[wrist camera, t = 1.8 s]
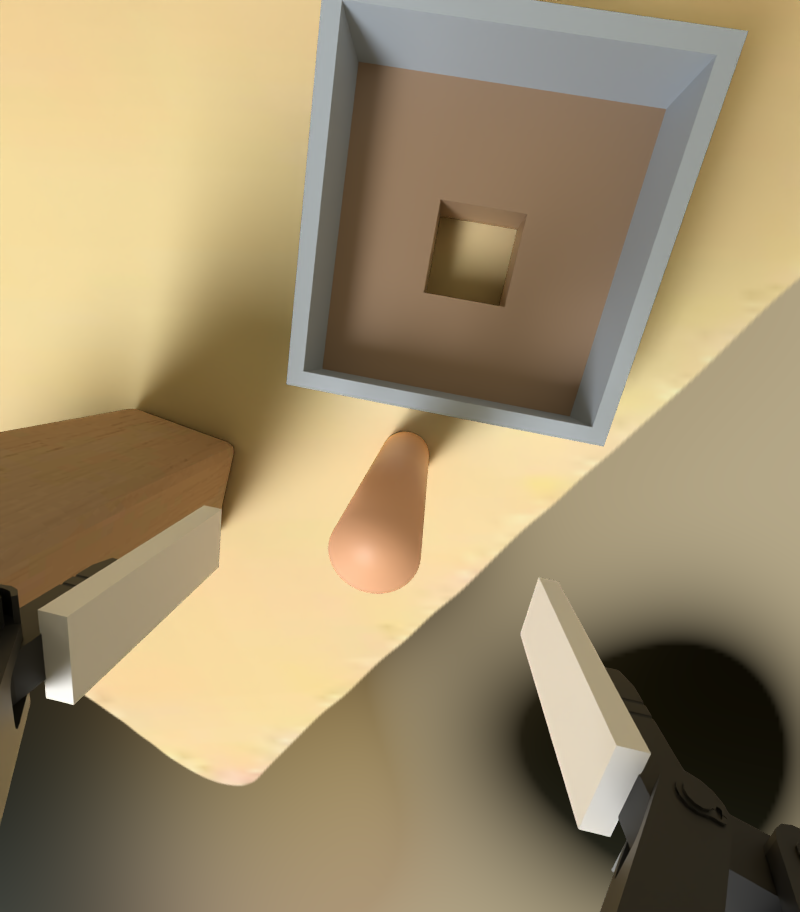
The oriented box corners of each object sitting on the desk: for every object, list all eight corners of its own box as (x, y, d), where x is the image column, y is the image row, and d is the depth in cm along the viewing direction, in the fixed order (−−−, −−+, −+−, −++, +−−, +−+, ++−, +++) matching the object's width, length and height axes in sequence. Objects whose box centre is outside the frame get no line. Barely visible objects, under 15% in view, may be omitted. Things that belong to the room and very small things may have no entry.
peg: (386, 427, 31) (334, 501, 15) (433, 436, 31) (429, 520, 15) (378, 472, 32) (323, 582, 17) (423, 481, 32) (411, 602, 16)
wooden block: (120, 502, 35) (-260, 681, 16) (133, 403, 32) (-309, 475, 13) (219, 538, 35) (-42, 759, 16) (241, 442, 32) (-45, 572, 13)
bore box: (355, 74, 25) (324, -31, 18) (660, 122, 24) (748, 30, 17) (319, 377, 30) (286, 384, 23) (565, 424, 29) (603, 446, 23)
